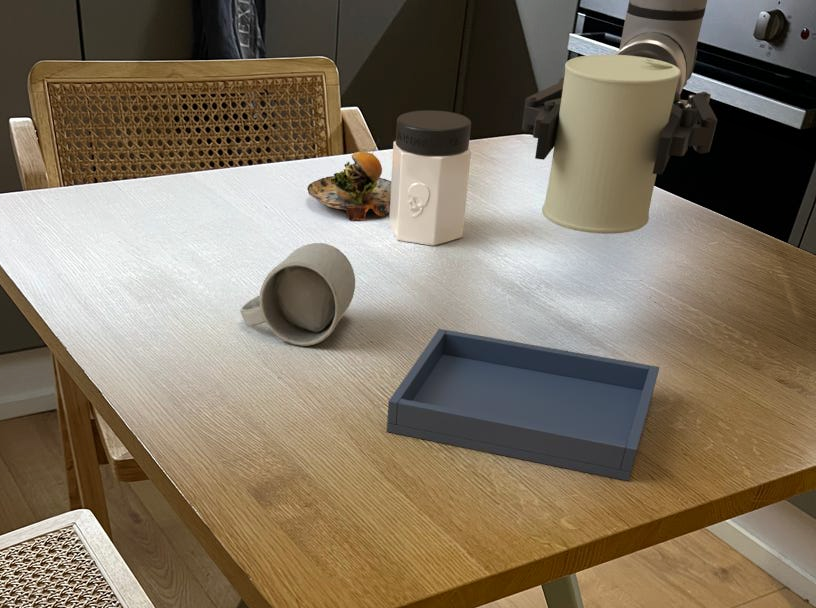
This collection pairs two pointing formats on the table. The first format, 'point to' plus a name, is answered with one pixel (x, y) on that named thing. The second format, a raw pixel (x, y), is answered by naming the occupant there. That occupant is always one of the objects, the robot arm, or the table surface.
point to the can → (608, 142)
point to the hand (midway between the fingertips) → (600, 148)
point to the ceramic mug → (304, 295)
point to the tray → (526, 402)
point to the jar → (430, 177)
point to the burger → (355, 188)
